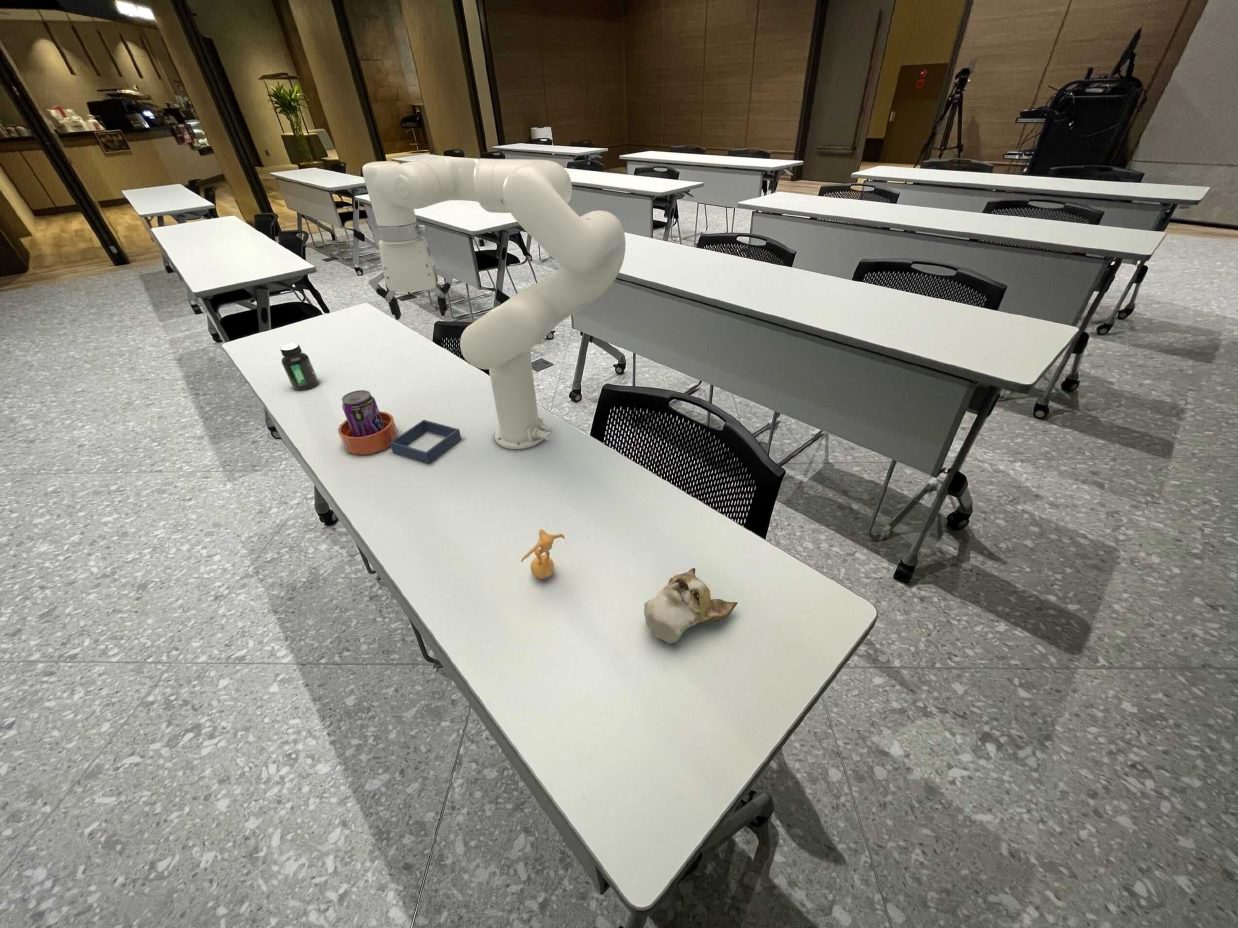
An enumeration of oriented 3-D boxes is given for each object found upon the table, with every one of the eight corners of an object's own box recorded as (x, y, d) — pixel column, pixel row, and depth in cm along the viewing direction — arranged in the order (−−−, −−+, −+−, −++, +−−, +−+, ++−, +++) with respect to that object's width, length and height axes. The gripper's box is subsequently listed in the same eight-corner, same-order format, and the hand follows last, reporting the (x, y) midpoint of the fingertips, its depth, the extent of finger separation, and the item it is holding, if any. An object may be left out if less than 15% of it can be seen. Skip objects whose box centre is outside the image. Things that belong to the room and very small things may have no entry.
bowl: (409, 434, 125) (404, 417, 122) (371, 461, 116) (364, 443, 113) (373, 424, 129) (367, 407, 126) (334, 449, 120) (326, 431, 117)
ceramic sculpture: (625, 583, 74) (695, 540, 82) (623, 621, 79) (689, 577, 87) (676, 631, 67) (747, 580, 75) (670, 670, 72) (737, 617, 80)
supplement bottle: (309, 391, 144) (292, 352, 137) (288, 390, 145) (270, 351, 138) (324, 380, 150) (308, 342, 143) (303, 379, 151) (287, 341, 144)
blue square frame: (461, 439, 122) (459, 429, 121) (429, 464, 114) (426, 453, 113) (426, 429, 126) (423, 419, 125) (393, 453, 118) (389, 442, 117)
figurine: (557, 556, 91) (550, 506, 83) (576, 576, 87) (571, 525, 80) (517, 579, 86) (506, 529, 79) (535, 601, 83) (526, 550, 75)
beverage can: (377, 449, 119) (360, 405, 112) (350, 446, 120) (332, 402, 113) (393, 433, 124) (378, 390, 117) (368, 430, 126) (351, 388, 119)
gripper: (445, 226, 106) (462, 307, 116) (359, 231, 103) (383, 313, 113) (441, 234, 100) (460, 318, 110) (350, 240, 97) (377, 325, 107)
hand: (421, 315), depth 112 cm, fingers open, 9 cm apart
